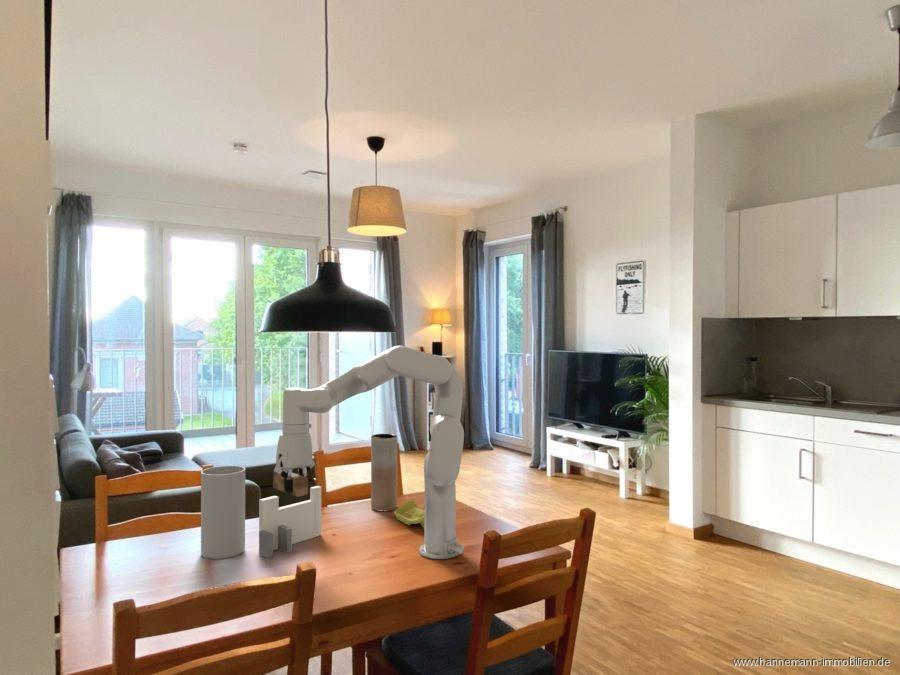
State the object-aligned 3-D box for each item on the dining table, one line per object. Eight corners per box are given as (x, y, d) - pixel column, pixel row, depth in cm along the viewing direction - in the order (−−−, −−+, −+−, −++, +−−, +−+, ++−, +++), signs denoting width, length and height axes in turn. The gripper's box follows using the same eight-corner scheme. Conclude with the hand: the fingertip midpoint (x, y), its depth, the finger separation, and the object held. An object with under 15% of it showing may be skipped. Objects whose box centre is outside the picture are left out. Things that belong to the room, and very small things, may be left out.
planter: (388, 502, 231) (388, 432, 231) (401, 508, 223) (402, 436, 223) (366, 507, 225) (366, 435, 225) (379, 513, 217) (379, 438, 217)
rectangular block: (307, 494, 171) (308, 474, 171) (297, 496, 169) (298, 476, 169) (282, 486, 180) (283, 467, 180) (272, 488, 177) (273, 469, 177)
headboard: (330, 538, 189) (330, 489, 189) (268, 558, 172) (268, 504, 172) (317, 533, 194) (317, 485, 194) (255, 553, 176) (255, 500, 176)
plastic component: (391, 512, 211) (414, 496, 215) (400, 529, 212) (422, 513, 216) (414, 523, 193) (438, 506, 198) (424, 541, 195) (447, 524, 199)
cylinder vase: (222, 562, 169) (222, 476, 169) (191, 556, 174) (191, 472, 174) (253, 548, 180) (254, 468, 180) (223, 542, 185) (224, 464, 185)
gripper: (311, 425, 181) (310, 483, 181) (263, 430, 169) (262, 494, 169) (326, 427, 177) (325, 488, 176) (278, 433, 164) (277, 498, 164)
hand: (294, 490), depth 173 cm, fingers closed on rectangular block, 3 cm apart
